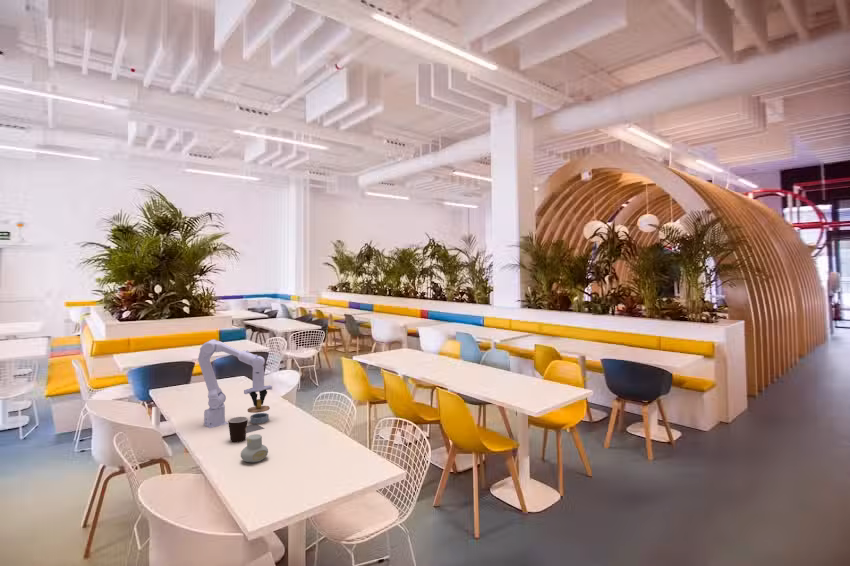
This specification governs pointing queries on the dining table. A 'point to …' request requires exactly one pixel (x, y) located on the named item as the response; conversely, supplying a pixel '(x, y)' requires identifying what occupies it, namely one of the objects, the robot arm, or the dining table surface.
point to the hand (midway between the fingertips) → (258, 405)
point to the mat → (253, 428)
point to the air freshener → (254, 449)
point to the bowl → (259, 418)
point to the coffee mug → (238, 428)
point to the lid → (258, 407)
